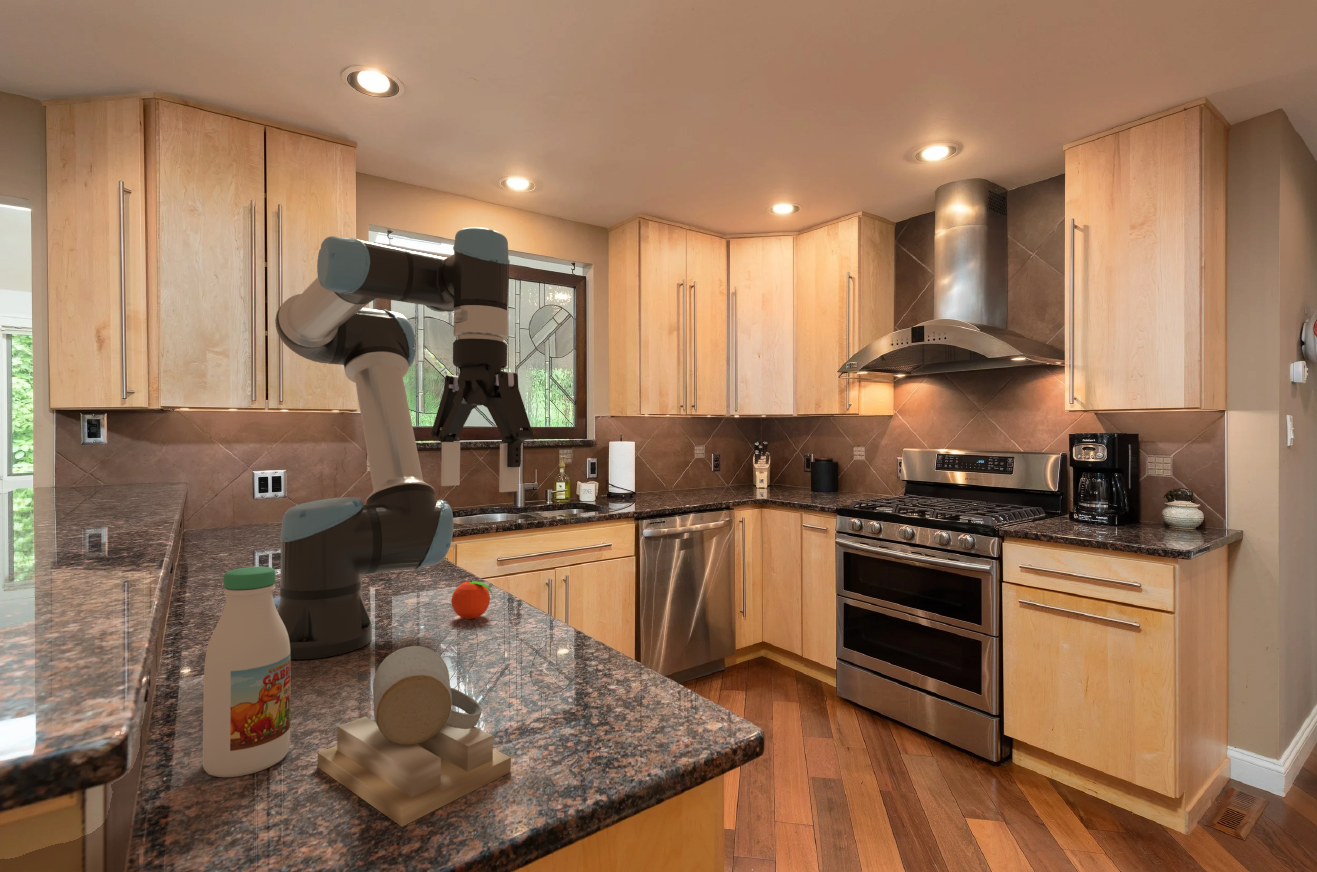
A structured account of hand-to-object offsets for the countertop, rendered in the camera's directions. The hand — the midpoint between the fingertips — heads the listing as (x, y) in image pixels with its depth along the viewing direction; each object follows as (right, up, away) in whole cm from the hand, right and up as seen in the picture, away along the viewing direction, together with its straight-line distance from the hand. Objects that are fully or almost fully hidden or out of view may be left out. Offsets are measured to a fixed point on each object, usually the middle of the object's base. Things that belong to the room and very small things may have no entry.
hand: (478, 488), depth 93 cm
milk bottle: (-17, -27, -25) cm, 40 cm away
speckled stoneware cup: (+2, -23, -26) cm, 35 cm away
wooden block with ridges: (+1, -27, -26) cm, 37 cm away
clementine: (-9, -27, +28) cm, 40 cm away
